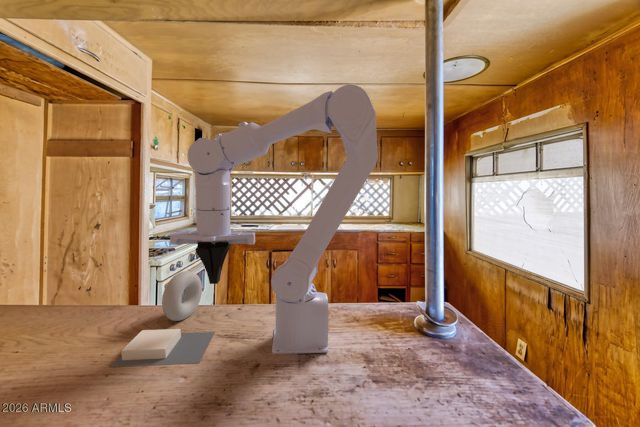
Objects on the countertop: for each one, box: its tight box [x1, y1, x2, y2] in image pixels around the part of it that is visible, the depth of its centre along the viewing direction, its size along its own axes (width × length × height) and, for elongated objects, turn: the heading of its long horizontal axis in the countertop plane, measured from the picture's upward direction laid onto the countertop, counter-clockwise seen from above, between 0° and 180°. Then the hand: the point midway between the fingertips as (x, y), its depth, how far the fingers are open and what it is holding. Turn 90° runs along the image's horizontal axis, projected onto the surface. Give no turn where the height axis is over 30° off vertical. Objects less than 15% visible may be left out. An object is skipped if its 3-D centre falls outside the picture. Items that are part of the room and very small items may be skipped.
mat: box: [109, 331, 216, 368], centre depth 46 cm, size 13×9×1 cm
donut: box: [161, 270, 203, 322], centre depth 56 cm, size 10×4×10 cm, turn 168°
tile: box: [121, 328, 182, 360], centre depth 46 cm, size 2×6×6 cm
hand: (214, 282), depth 51 cm, fingers closed
